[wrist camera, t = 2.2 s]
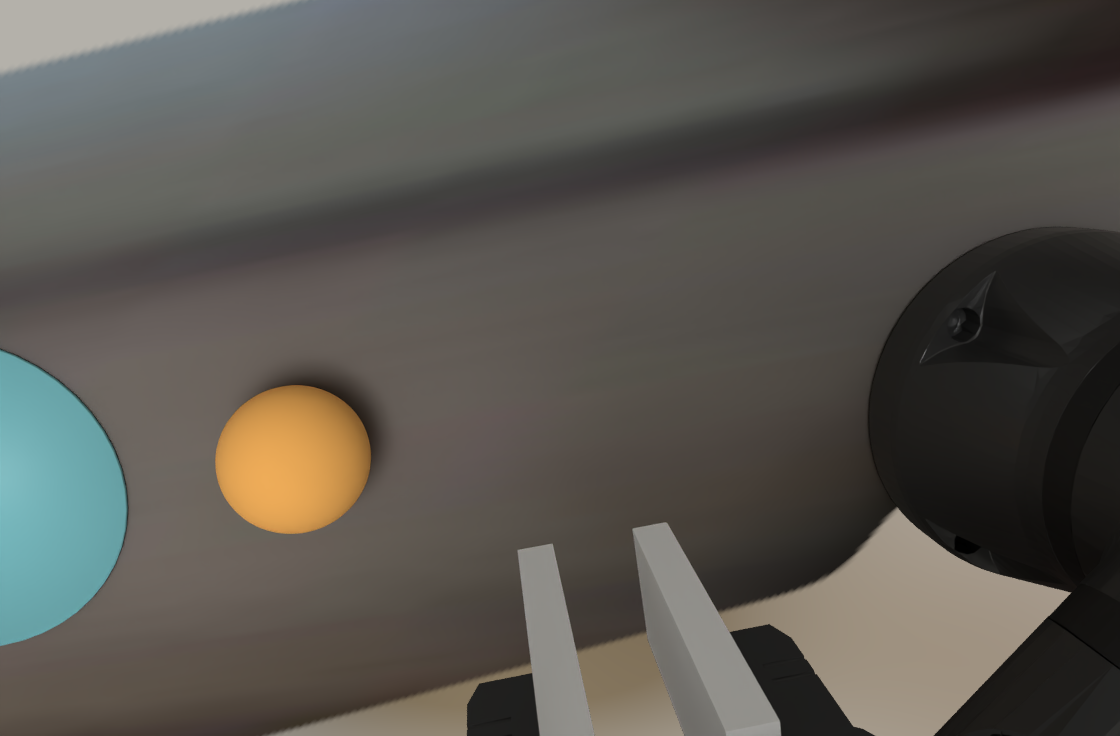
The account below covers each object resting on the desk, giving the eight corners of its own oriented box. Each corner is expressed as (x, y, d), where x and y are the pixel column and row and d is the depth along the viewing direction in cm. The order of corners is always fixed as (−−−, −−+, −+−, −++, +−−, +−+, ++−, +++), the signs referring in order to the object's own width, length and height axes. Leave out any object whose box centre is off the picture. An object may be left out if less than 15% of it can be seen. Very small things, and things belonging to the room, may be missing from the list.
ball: (363, 359, 32) (341, 395, 27) (390, 486, 33) (375, 544, 28) (224, 383, 32) (174, 423, 26) (258, 510, 33) (216, 573, 28)
